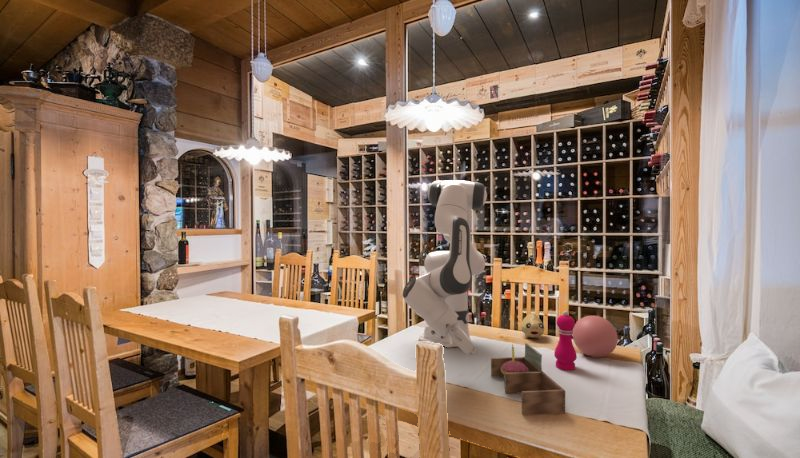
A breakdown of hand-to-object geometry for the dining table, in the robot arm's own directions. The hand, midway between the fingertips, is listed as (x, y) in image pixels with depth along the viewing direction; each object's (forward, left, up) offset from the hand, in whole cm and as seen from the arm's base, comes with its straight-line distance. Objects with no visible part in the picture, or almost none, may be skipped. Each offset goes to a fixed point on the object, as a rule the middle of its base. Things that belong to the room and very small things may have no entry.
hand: (474, 350), depth 124 cm
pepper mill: (+23, +30, -11) cm, 39 cm away
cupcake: (+11, +7, -11) cm, 17 cm away
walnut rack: (+15, +2, -11) cm, 19 cm away
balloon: (+30, +50, -11) cm, 59 cm away
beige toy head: (+6, +60, -11) cm, 61 cm away
